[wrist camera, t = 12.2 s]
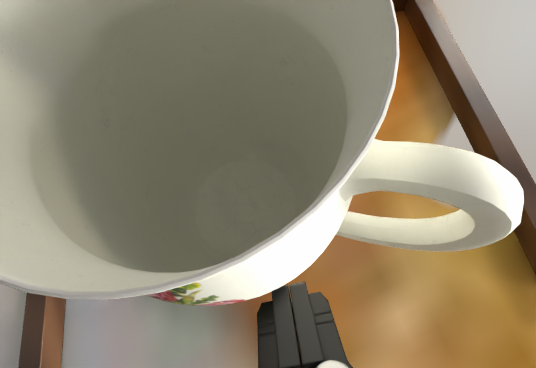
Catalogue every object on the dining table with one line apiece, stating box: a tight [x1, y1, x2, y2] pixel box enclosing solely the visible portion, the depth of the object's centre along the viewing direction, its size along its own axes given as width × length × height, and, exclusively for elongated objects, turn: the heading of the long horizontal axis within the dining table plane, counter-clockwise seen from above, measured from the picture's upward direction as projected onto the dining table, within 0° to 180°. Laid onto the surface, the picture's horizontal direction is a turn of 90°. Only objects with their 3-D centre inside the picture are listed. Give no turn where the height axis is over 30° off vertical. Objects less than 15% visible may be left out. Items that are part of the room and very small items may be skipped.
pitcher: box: [0, 0, 524, 306], centre depth 12 cm, size 11×18×14 cm, turn 71°
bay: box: [19, 0, 536, 368], centre depth 19 cm, size 22×29×2 cm
